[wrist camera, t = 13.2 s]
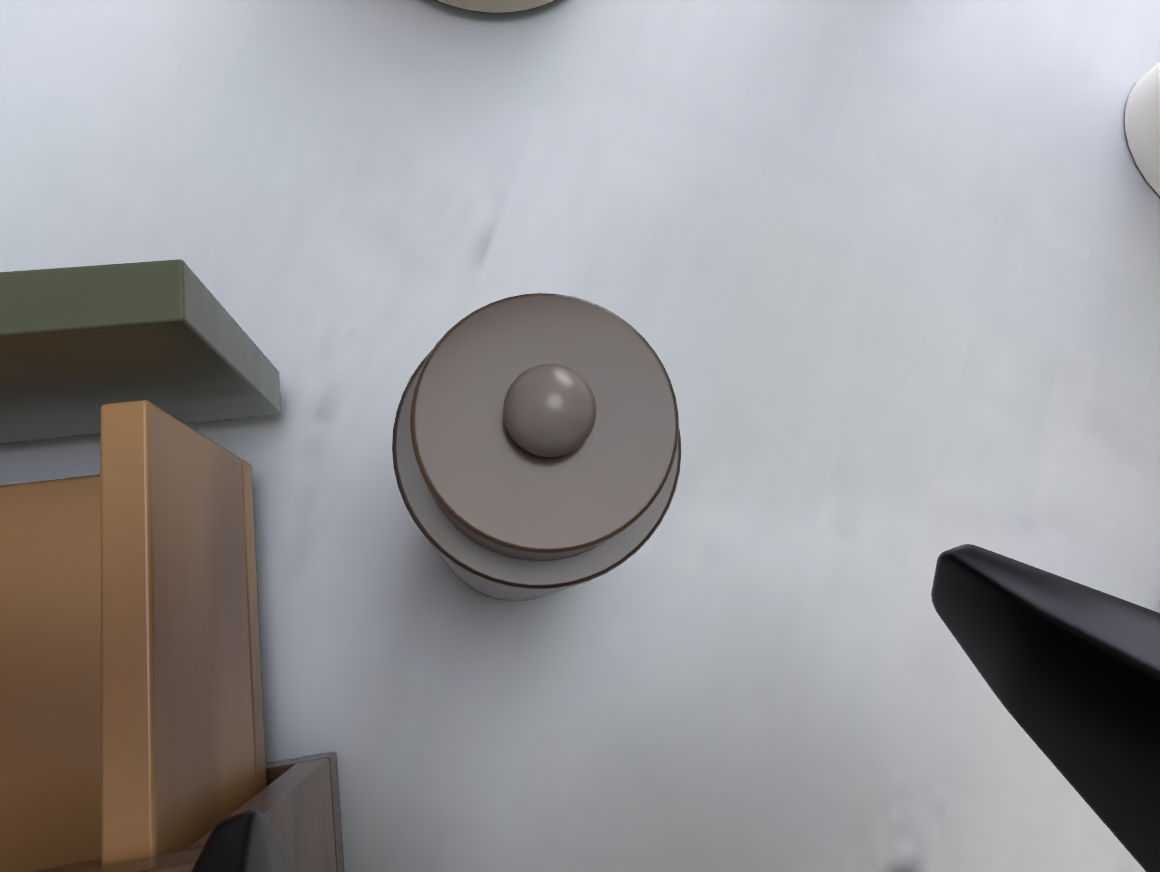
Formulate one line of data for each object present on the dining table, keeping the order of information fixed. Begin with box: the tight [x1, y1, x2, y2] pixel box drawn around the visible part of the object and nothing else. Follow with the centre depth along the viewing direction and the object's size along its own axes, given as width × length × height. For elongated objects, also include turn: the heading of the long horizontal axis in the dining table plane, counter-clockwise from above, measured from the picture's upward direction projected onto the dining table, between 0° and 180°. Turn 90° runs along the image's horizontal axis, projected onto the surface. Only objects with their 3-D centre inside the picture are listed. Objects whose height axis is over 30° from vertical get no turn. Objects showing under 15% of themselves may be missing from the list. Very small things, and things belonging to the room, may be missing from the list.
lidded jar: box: [392, 293, 681, 600], centre depth 14 cm, size 4×4×12 cm
